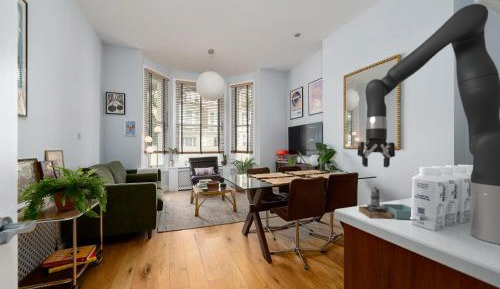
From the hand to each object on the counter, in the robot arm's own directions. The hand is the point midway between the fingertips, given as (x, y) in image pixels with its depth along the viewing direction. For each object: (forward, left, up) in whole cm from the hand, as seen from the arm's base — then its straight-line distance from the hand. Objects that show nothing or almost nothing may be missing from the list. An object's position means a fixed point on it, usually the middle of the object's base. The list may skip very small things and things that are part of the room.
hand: (375, 166), depth 86 cm
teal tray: (-10, 0, -20) cm, 22 cm away
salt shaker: (0, 0, -20) cm, 20 cm away
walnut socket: (0, 0, -20) cm, 20 cm away
